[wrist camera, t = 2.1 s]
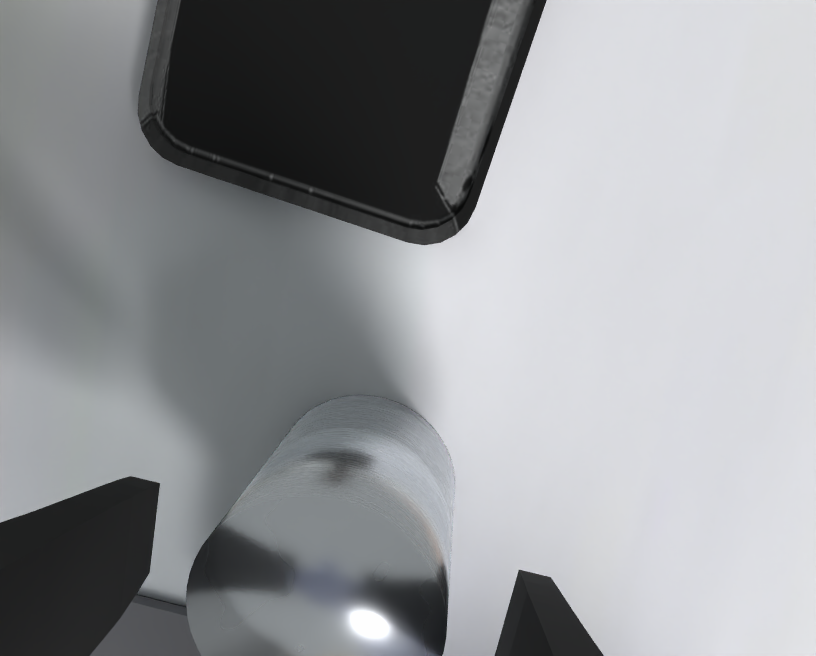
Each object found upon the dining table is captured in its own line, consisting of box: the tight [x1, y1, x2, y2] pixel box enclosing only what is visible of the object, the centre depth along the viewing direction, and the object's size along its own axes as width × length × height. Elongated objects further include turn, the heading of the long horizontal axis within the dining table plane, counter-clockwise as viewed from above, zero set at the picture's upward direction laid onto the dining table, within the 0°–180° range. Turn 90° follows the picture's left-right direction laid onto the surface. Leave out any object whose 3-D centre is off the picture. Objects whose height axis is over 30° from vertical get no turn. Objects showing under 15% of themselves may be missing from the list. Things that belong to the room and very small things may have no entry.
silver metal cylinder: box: [186, 395, 455, 656], centre depth 13 cm, size 5×7×5 cm, turn 169°
